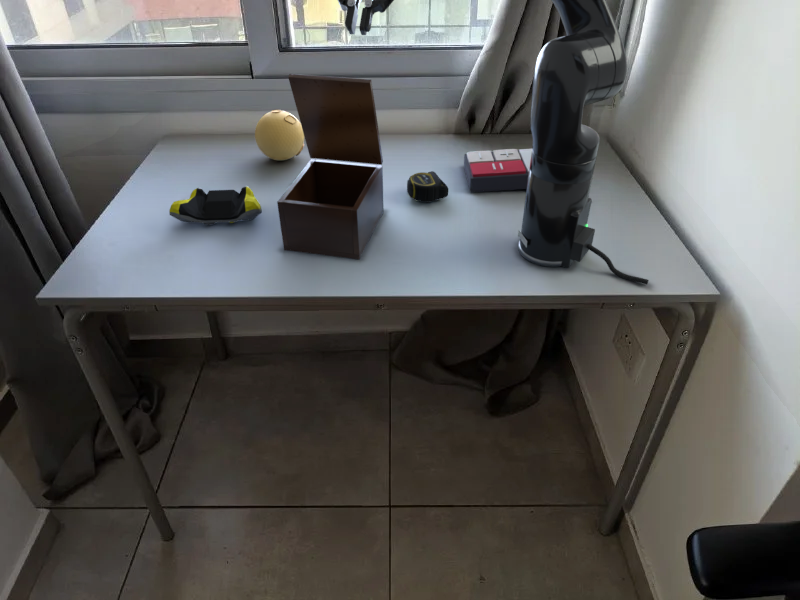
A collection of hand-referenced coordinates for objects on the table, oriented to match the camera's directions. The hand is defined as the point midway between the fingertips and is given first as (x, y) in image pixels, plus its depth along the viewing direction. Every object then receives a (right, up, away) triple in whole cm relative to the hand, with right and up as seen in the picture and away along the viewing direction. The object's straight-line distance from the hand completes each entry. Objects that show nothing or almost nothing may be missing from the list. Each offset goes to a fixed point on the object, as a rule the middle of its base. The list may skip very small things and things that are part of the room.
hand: (356, 31), depth 103 cm
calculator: (+28, -21, +18) cm, 39 cm away
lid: (-3, -16, -4) cm, 17 cm away
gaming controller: (-24, -30, +6) cm, 39 cm away
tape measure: (+12, -25, +13) cm, 31 cm away
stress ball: (-17, -15, +26) cm, 35 cm away
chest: (-4, -32, +3) cm, 33 cm away
